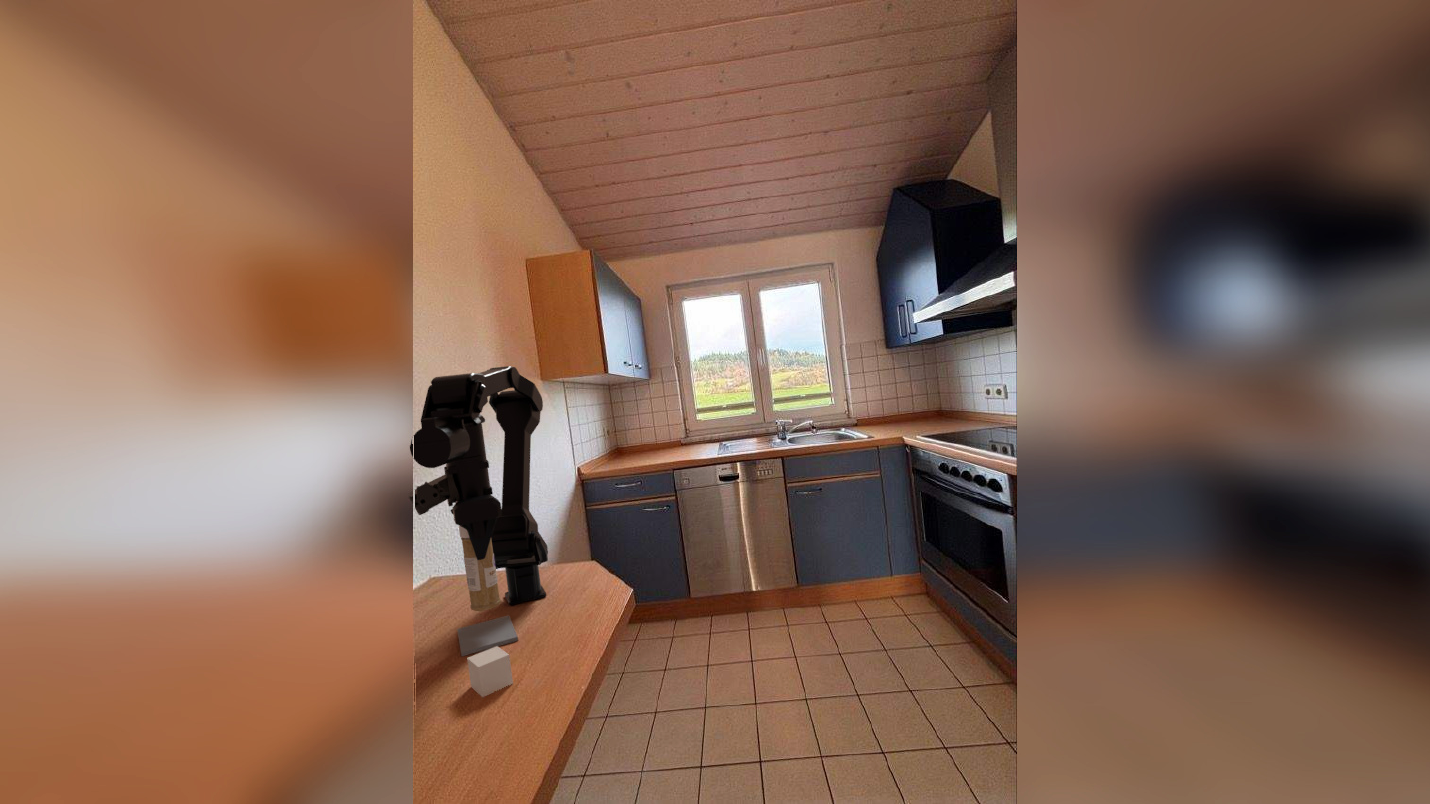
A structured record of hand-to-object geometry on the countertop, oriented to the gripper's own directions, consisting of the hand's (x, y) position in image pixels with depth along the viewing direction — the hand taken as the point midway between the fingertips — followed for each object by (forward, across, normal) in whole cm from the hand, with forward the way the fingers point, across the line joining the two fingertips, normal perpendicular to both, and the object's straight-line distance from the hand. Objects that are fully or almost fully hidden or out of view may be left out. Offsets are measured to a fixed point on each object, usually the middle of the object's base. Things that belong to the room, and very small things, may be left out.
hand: (479, 555), depth 94 cm
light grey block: (+13, +17, -2) cm, 21 cm away
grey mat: (+13, 0, 0) cm, 13 cm away
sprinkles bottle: (+8, 0, 0) cm, 8 cm away
